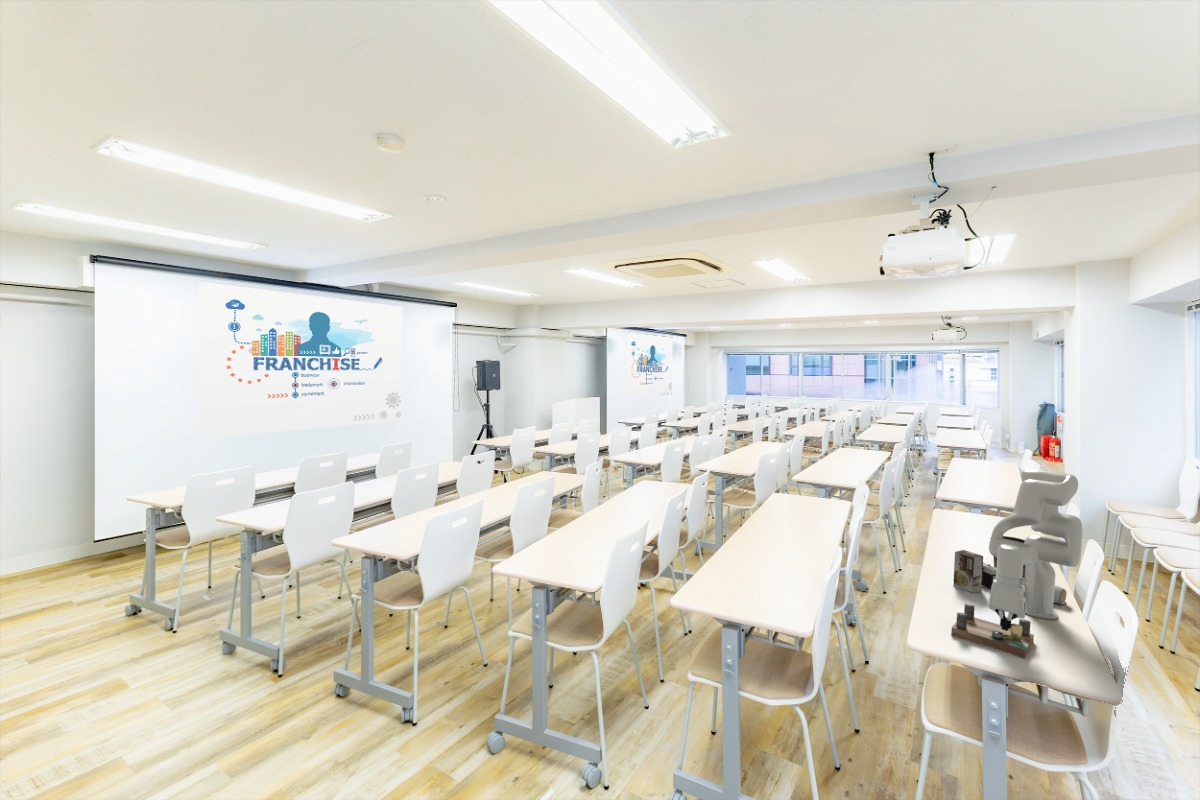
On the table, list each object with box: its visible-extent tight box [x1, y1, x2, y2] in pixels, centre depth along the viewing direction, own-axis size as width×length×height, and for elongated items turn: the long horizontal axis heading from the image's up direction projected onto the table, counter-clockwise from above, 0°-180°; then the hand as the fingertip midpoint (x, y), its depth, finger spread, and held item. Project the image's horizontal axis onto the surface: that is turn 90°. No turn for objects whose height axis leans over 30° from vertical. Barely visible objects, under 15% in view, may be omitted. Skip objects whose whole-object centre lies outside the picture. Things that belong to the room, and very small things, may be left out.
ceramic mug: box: [1053, 584, 1068, 605], centre depth 233 cm, size 11×8×8 cm
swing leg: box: [992, 623, 1022, 641], centre depth 193 cm, size 9×3×5 cm, turn 81°
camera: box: [982, 561, 997, 590], centre depth 251 cm, size 14×9×10 cm, turn 0°
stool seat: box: [950, 603, 1035, 659], centre depth 200 cm, size 16×22×8 cm
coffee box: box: [953, 549, 984, 594], centre depth 245 cm, size 9×6×16 cm
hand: (1005, 629), depth 197 cm, fingers closed
